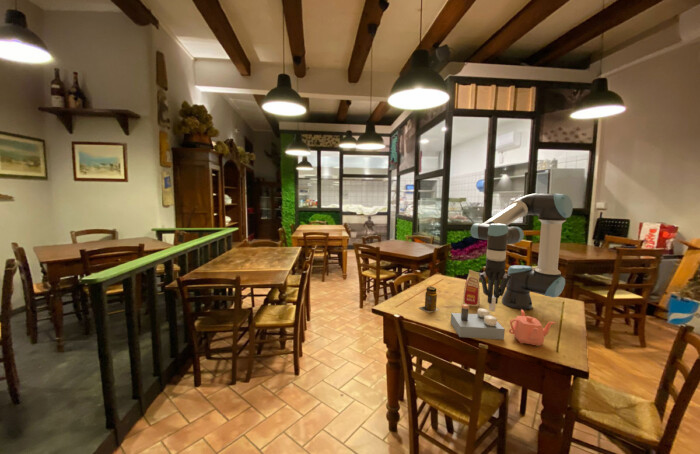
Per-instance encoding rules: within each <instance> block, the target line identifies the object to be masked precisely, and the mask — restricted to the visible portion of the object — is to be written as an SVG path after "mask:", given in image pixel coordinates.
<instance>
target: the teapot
mask: <svg viewBox="0 0 700 454" xmlns="http://www.w3.org/2000/svg"><path fill="white" fill-rule="evenodd" d="M556 323H557V322H555V321H548V322H547V323H546V325H545V327H543V325H542V323H541V322H540V320H538V319H537V318H536V317H533V316H530V315H527V316H526V312H525V310H522V309H520V315H517V316H516V318H513V319H511V320H510V321H509V326H510V329H509V330H508V331H509V334H512V335H513V336H514V338H515V339H516V340H517V341H518V343H519V342H520V343H519V344H521V343H525V344H526V345H527V344H528V345H533V346H534V345H539V346H543V344H544V342H545V337H546V336H547V335H548V334H549V333H550V329H551V326H552V325H554V324H556Z"/></svg>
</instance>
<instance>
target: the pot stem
mask: <svg viewBox="0 0 700 454" xmlns="http://www.w3.org/2000/svg"><path fill="white" fill-rule="evenodd" d="M460 308H461V310H460V311H461V312H460V313H461V320H462V321H468V314H469V310H470V306H469V305H467V304H463V303H461V306H460Z"/></svg>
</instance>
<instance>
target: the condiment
mask: <svg viewBox="0 0 700 454" xmlns="http://www.w3.org/2000/svg"><path fill="white" fill-rule="evenodd" d="M425 291H426V292H425V293H424V295H425V296H424V297H425V298H424V306H420V307H419V309H420V310H422V311H424V312H426V313H428V314H429V313H434V312H437V311H439V310H440V309H439V308H437V298H438V297H437V296H438V293H437V288H436V287H434V286H427V287H426V290H425Z"/></svg>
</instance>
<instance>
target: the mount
mask: <svg viewBox="0 0 700 454" xmlns="http://www.w3.org/2000/svg"><path fill="white" fill-rule="evenodd" d="M489 316H493V315H492V314H489ZM450 323H451V325H452V328H453V329H454V330H455V332H456V334H457V335H458V337H459V338H470V339H484V338H485V339H488V340H502V341H503V340H505V330H506V329H505V328H504V327H503V326H502V325H501V324H500V323H499V321H497V324H496V326H494V327H487V326H486V324H485V323H484V319H480V318H479V316H478V315H477V313H468V321H462V320H461V312H450ZM485 339H484V340H485Z"/></svg>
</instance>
